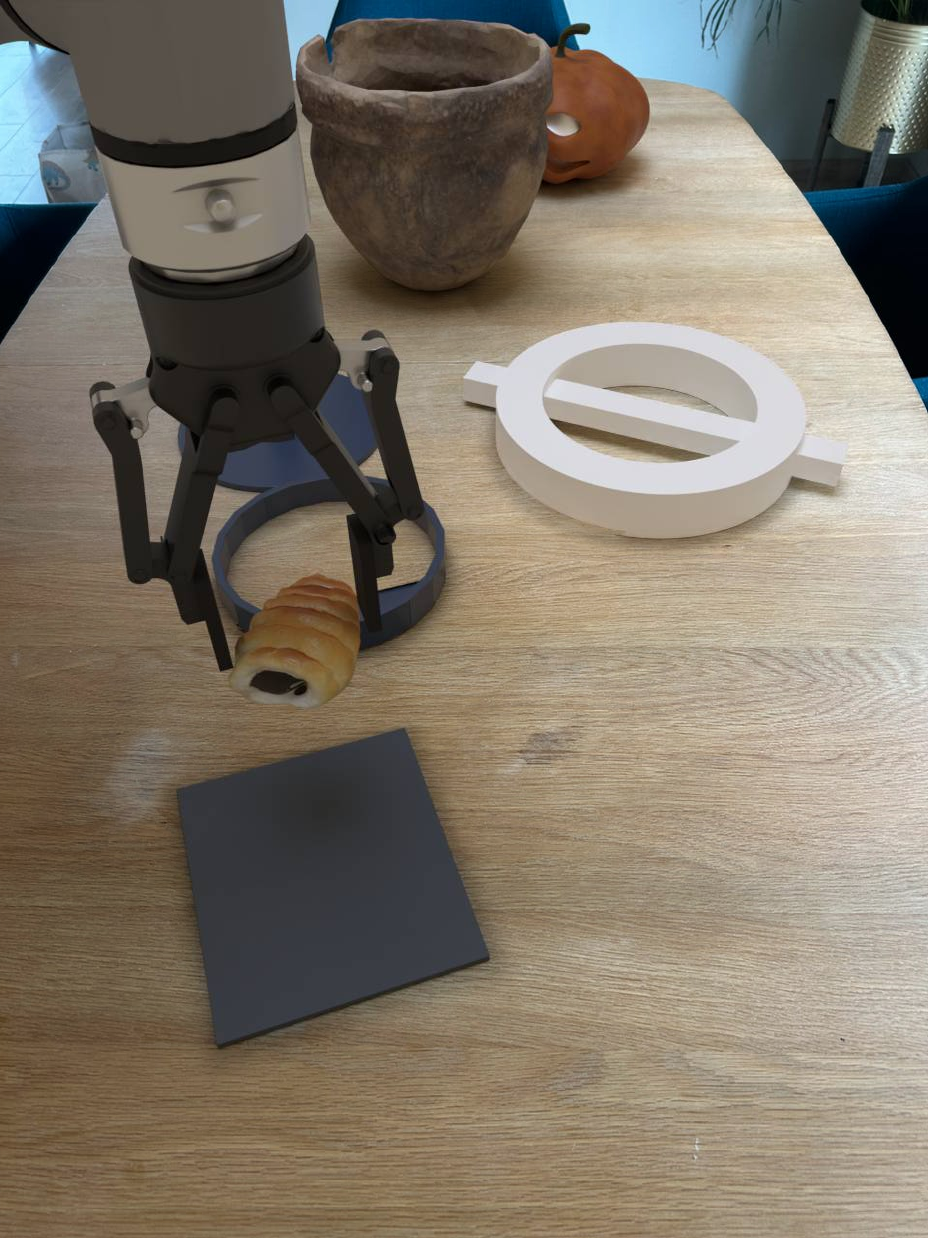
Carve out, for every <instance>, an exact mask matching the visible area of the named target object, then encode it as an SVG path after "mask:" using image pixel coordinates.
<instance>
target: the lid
mask: <svg viewBox="0 0 928 1238" xmlns="http://www.w3.org/2000/svg"><path fill="white" fill-rule="evenodd" d="M318 408H319V410H320V412H321V413H322V415H323V416H324V418H325V419H326V421H327V422H328V424H329V425H330V427H331V428H332V429H333V431H334V432H335V434H336V435H337V437H338V438H339V440H340V441H341V442H342V444H343V445H344V447H345V448H346V450H347V451H348V452H349V454H350V455H351V457H352V458H353V460H354V461H355V463H356V464H357V465H358V466H359V465H361V464H363V463H364V462H365V461H366V460H367V459H368V458H369V457H370V456H371V455H372V454H373V453H374V452H375V451H376V449H378V446H377V443H376V440H375V436H374V433H373V430H372V426H371V423H370V419H369V416H368V413H367V409H366V406H365V403H364V399H363V396H362V392H361V390H358V389H356V388H355V387H353V385H352V383H351V381H350V379H349V377H348V375H344V374H341V373H339V372H338V373H337V375H336V377H335V378H334V380H333V382H332V383H331V385H330V387H329V389H328V390H327V392H326V394H325V395H324V397H323V399H322V400H321V402H320V404H319V406H318ZM177 430H178V431H177V442H178V443H177V445H178V449H179V451H180V455H181V456H182V455H183V450H184V446H185V430H186V427H185V426H184V425H183V424H181V423H180V422H179V427H178V429H177ZM294 437H295V439H293V440H289V441H284V442H279V443H277V442H261V443H258V444H256V445H254V446H252V447H250V448H247V449H245V450H241V451H236V452H231V453H228V454H227V458H226V461H225V465H224V469H223V472H222V474H221V475H219V476H218V479H217V483H216V485H220V486H223V487H227V488H230V489H235V490H241V491H245V492H246V491H247V492H258V493H263V492H265V491H267V490H270V489H272V488H274V487H277V486H279V485H281V484H284V483H286V482H289V481H292V480H297V479H302V478H306V477H311V476H316V475H321V474H326V473H325V471H324V470H323V469H322V467H321V466H320V465H319V463H318V462H317V460H316V459H315V458H314V456H313V455H312V456H311V455H310V454H309V452H308V451H307V450H306V448H305V447H304V446H303V444H302V443H301V441H300V440H299V439H298V437H297V436H296V435H295V434H294Z"/></svg>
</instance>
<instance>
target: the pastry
mask: <svg viewBox="0 0 928 1238" xmlns="http://www.w3.org/2000/svg"><path fill="white" fill-rule="evenodd" d="M261 610H262V611H261V612H259V613H257V614H256V615H254V616H253V618H252V620H251V623H250V627H249V632H246V633H245V632H243V633H242V634H241V635H240V636H239V637H238V639H237V640H236V643H235V645H234V663H233V669H231V670H232V671H231V673H230V674H229V676H228V677H227V682H228V684H229V686H230V688H231V689H232V691H234V692H235V693H237V694H239V695H241V696H242V698H243V699H245V700H246V701H249V702H251V703H257V704H261V705H277V706H278V705H291V706H293V707H297V708H301V709H306V710H307V709H308V710H312V709H317V708H321V707H322V706H324V705H326V704H328V703H329V702H330V701H332V700H333V699H335V698H336V697H337V696H339V695H340V694H341V693H342V692H344V691H345V690H346V688H347V687H348V686H349V685H350V682H351V681H352V679H353V677H354V674H355V671H356V665H357V660H358V654H359V651H360V650H359V646H360V624H359V622H360V615H359V608H358V602H357V595H356V592H355V591H354V590H353V588H352V587H351V586H350V585H349V584H347V583H346V582H344V581H343V580H339V579H335V578H331V577H327V576H325V575H324V574H321V573H314V574H312V575H309V576H305V577H302V578H300V579H298V580H297V581H295V582H293V583H292V584H290V586H286V587H282V588H280V589H279V591H278V592H277V593H276V596H275V597H274V598H268V599H267V600H266V601H265V602H264V604H263V606H262V609H261Z"/></svg>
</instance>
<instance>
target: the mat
mask: <svg viewBox="0 0 928 1238" xmlns="http://www.w3.org/2000/svg"><path fill="white" fill-rule="evenodd" d="M176 794H177V801H178V808H179V814H180V819H181V826H182V832H183V838H184V845H185V852H186V857H187V864H188V871H189V876H190V882H191V883H190V884H191V889H192V895H193V902H194V908H195V909H194V910H195V914H196V921H197V927H198V935H199V940H200V946H201V952H202V959H203V965H204V972H205V978H206V984H207V990H208V991H207V992H208V997H209V1004H210V1010H211V1016H212V1022H213V1030H214V1034H215V1041H216V1046H217V1048H219V1049H220V1048H221V1049H222V1048H223V1047H227V1046H229V1045H233V1044H236V1043H240V1042H243V1041H246V1040H248V1039H251V1038H254V1037H257V1036H260V1035H263V1034H266V1033H269V1032H273V1031H276V1030H279V1029H282V1028H284V1027H288V1026H290V1025H294V1024H297V1023H299V1022H303V1021H306V1020H309V1019H312V1018H315V1017H318V1016H321V1015H324V1014H328V1013H331V1012H334V1011H336V1010H339V1009H343V1008H347V1007H349V1006H352V1005H355V1004H358V1003H362V1002H364V1001H367V1000H370V999H373V998H376V997H379V996H383V995H386V994H388V993H392V992H394V991H398V990H401V989H404V988H407V987H410V986H413V985H416V984H419V983H423V982H426V981H429V980H431V979H435V978H437V977H440V976H444V975H446V974H450V973H453V972H456V971H459V970H462V969H465V968H468V967H471V966H474V965H477V964H480V963H484V962H486V961H489V960H490V958H491V957H490V952H489V950H488V947H487V944H486V942H485V939H484V937H483V934H482V931H481V928H480V926H479V923H478V921H477V918H476V914H475V912H474V909H473V907H472V904H471V902H470V899H469V896H468V893H467V891H466V889H465V886H464V883H463V880H462V877H461V874H460V872H459V869H458V866H457V864H456V861H455V859H454V855H453V853H452V851H451V848H450V845H449V842H448V839H447V837H446V834H445V831H444V829H443V826H442V824H441V821H440V818H439V815H438V813H437V810H436V807H435V804H434V802H433V799H432V797H431V794H430V791H429V788H428V785H427V783H426V781H425V778H424V774H423V772H422V770H421V767H420V764H419V760H418V758H417V756H416V754H415V751H414V748H413V745H412V743H411V740H410V738H409V734H408V732H407V730H406V727H401V728H398V729H394V730H391V731H387V732H384V733H383V732H382V733H379V734H376V735H371V736H368V737H365V738H360V739H357V740H353V741H349V742H346V743H342V744H338V745H334V746H331V747H327V748H324V749H320V750H317V751H312V752H309V753H305V754H301V755H297V756H294V757H291V758H286V759H283V760H279V761H276V762H272V763H268V764H265V765H264V764H263V765H260V766H257V767H254V768H250V769H249V768H248V769H246V770H242V771H239V772H234V773H231V774H227V775H223V776H219V777H216V778H212V779H209V780H205V781H201V782H198V783H193V784H190V785H187V786H183V787H178V788H176Z"/></svg>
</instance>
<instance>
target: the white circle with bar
mask: <svg viewBox="0 0 928 1238" xmlns="http://www.w3.org/2000/svg"><path fill="white" fill-rule="evenodd" d="M627 386H628V387H629V386H634V387H635V386H637V387H651V388H652V387H653V388H659V389H666V390H669V391H670V390H672V391H675V392H679V393H682V394H685V395H689V396H692V397H695V398H697V399H699V400H701V401H703V402H706V403H708V404H710V405H711V406H713V407H715V408H717V409H718V410H719V411H721V412H722V413H724V415H722V414H718V413H713V412H709V411H704V410H699V409H695V408H691V407H687V406H682V405H677V404H673V403H667V402H665V401H660V400H655V399H650V398H647V397H641V396H636V395H633V394H627V393H623V392H618V391H614V390H609V389H608V388H614V387H627ZM462 400H463V401H464V402H465V401H466V402H470V403H473V404H478V405H482V406H486V407H490V408H495V446H496V451H497V454H498V457H499V459H500V462H501V464H502V465H503V468H504V469H505V471H506V472H507V473H508V475H509V476H510V477H511V478H512V480H513V481H514V482H515V483H516V484H517V485H518V486H519V487H520V488H521V489H522V490H523V491H525V492H526V493H527V494H528V495H530V496H531V498H533V499H535V500H536V501H538V502H539V503H541V504H543V505H544V506H546V507H548V508H549V509H552V510H553V511H555V512H558V513H560V514H562V515H564V516H567V517H568V518H571V519H574V520H577V521H580V522H583V523H586V524H589V525H592V526H596V527H600V528H601V527H602V528H605V529H608V530H616V531H619V532H618V533H614V535H615V536H616V535H617V536H622V537H629V538H638V539H662V540H665V539H682V538H691V537H699V536H704V535H710V534H714V533H718V532H721V531H724V530H728V529H731V528H734V527H736V526H739V525H741V524H743V523H746V522H748V521H750V520H752V519H754V518H756V517H757V516H759V515H761V514H763V513H764V512H765V511H766V510H768V509H769V508H770V507H771V506H773V505H774V504H775V503H776V502H777V501H778V500H779V499H780V498H781V497H782V495H783V494H784V493H785V491H786V489H787V488H788V486H789V485H790V482H791V481H792V478H798V479H802V480H807V481H811V482H815V483H820V484H823V485H828V486H830V487H831V486H832V487H837V486H838V482H839V481H840V476H841V473H842V470H843V468H844V463H845V461H846V457H847V454H848V450H849V447H850V443H848V442H844V441H839V440H835V439H830V438H826V437H823V436H816V435H813V434H809V433H805V431H806V426H807V417H808V416H807V408H806V405H805V401H804V400H805V399H804V397H803V395H802V393H801V391H800V390H799V388H798V386H797V385H796V383H795V382H794V381H793V380H792V379H791V377H790V376H789V375H788V374H787V373H786V372H785V370H783V369H782V368H781V367H780V366H778V364H776V363H775V362H773V361H772V360H771V359H769V358H768V357H767V356H765V355H764V354H762V353H760V352H759V351H757V350H755V349H753V348H752V347H749V346H747V345H745V344H743V343H741V342H738V341H736V340H734V339H732V338H729V337H726V336H723V335H720V334H718V333H714V332H711V331H708V330H703V329H699V328H695V327H690V326H685V325H680V324H672V323H666V322H665V323H663V322H652V321H651V322H650V321H619V322H618V321H617V322H606V323H599V324H591V325H586V326H581V327H578V328H572V329H570V330H566V331H563V332H559V333H557V334H554V335H551V336H549V337H547V338H545V339H543V340H540V341H538V342H537V343H535V344H533V345H531V346H529V347H528V348H526V349H525V350H524V351H522V352H521V353H519V355H518V356H516V357H515V358H514V359H513V360H512V361H511V362H510V364H509V365H507V367H505V366H501V365H497V364H493V363H489V362H483V361H478V360H476V361H475V363H473V364H472V366H471V367H470V369H469V370H467V372H466V374H465V375H464V376H463V377H462ZM551 419H552V420H556V421H561V422H565V423H569V424H574V425H578V426H582V427H585V428H590V429H595V430H599V431H604V432H607V433H612V434H617V435H620V436H624V437H628V438H634V439H637V440H642V441H645V442H650V443H654V444H659V445H663V446H666V447H667V446H668V447H671V448H675V449H680V450H683V451H689V452H692V453H697V454H702V455H705V456H706V457H702V458H698V459H693V460H687V461H686V460H685V461H676V462H646V461H636V460H630V459H625V458H619V457H615V456H611V455H609V454H608V455H607V454H605V453H602V452H598V451H596V450H594V449H591V448H589V447H587V446H585V445H583V444H580V443H578V442H577V441H575V440H573V439H572V438H570V437H569V436H567V435H566V434H565V433H564V432H563V431H561V430H560V429H559V428H558V427H557V426H556V425H555V424H554V422H553V421H552V420H551Z"/></svg>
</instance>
